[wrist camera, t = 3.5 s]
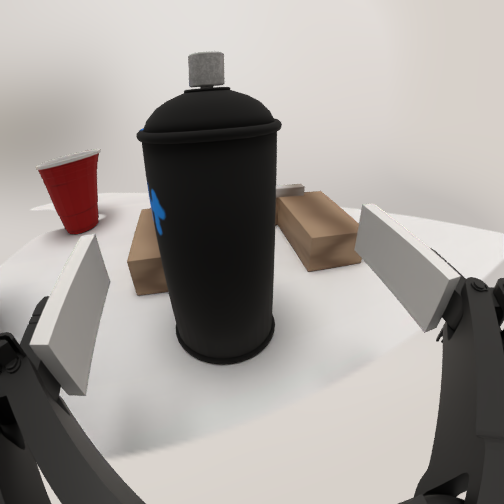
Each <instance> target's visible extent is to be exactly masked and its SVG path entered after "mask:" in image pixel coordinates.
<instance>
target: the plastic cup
mask: <svg viewBox="0 0 504 504" xmlns="http://www.w3.org/2000/svg"><path fill="white" fill-rule="evenodd" d="M100 150H101V149H93V150H87V151H82V152H78V153H73V154H70V155H66V156H62V157H59V158H56V159H53V160H50V161H47V162H44V163H42V164H40V165H37V166H36V169H37V170H38V171H39V173H40V174H41V177H42V179H43V181H44V184H45V185H46V188H47V190H48V193H49V195H50V197H51V200H52V202H53V204H54V207H55V209H56V211H57V213H58V215H59V216H60V219H61V221H62V223H63V225H64V227H65V229H66V230H67V232H68V233H69V234H79V233H83V232H86V231H88V230H90V229H92V228H93V227H95V226H96V225H97V223H98V217H99V216H98V205H97V202H98V195H97V162H98V155H99V153H100Z"/></svg>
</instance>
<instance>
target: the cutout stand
mask: <svg viewBox="0 0 504 504" xmlns="http://www.w3.org/2000/svg"><path fill="white" fill-rule="evenodd" d="M275 225H278V226H279V228H280V229H281V231H282V232H283V234H284V235H285V237H286V238H287V240H288V241H289V243H290V244H291V246H292V247H293V249H294V250H295V252H296V253H297V255H298V257H299V258H300V260H301V261H302V263H303V264H304V266H305V267H306V269H307V270H308V272H309V271H316V270H322V269H328V268H334V267H340V266H345V265H351V264H357V263H361V259H362V258H361V257H360V256H359V254H358V253H357V252H356V251H355V250H354V249H355V244H356V239H357V233H358V227H359V223H357V222H356V221H355V220H354V219H353V218H352V217H351V216H349V215H348V214H347V213H346V212H345V211H344V210H343V209H341V208H340V207H339V206H338V205H337V204H336V203H334V202H333V201H332V200H331V199H330V198H328V197H327V196H326V195H325V194H324V193H322V192H321V191H318V192H304V186H303V185H302V184H292V185H277V186H276V214H275ZM127 263H128V267H129V270H130V273H131V277H132V280H133V283H134V287H135V290H136V293H137V295H146V294H154V293H162V292H168V288H167V283H166V279H165V275H164V270H163V266H162V261H161V256H160V252H159V247H158V242H157V237H156V232H155V226H154V221H153V215H152V209H151V208H150V209H143V210H141V214H140V217H139V220H138V224H137V227H136V231H135V234H134V238H133V241H132V245H131V249H130V252H129V256H128V260H127Z"/></svg>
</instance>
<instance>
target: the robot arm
mask: <svg viewBox="0 0 504 504" xmlns="http://www.w3.org/2000/svg"><path fill="white" fill-rule="evenodd" d="M354 250H355V251H356V252H357V253H358V254H359V256H360V257H361V258H362V259H363V260H364V261H365V262H366V263H367V264H368V266H369V267H370V268H371V269H372V270H373V271H374V272H375V273H376V275H377V276H378V277H379V278H380V279H381V280H382V282H383V283H384V284H385V285H386V286H387V287H388V289H389V290H390V291H391V292H392V293H393V294H394V296H395V297H396V298H397V299H398V300H399V302H400V303H401V304H402V305H403V306H404V308H405V309H406V310H407V311H408V313H409V314H410V315H411V316H412V318H413V319H414V320H415V321H416V323H417V324H418V325H419V326H420V328H421V329H422V330H423V331H424V333H425V332H427V331H430V330H432V329H434V328H436V327H437V325H438V323H439V322H440V320H441V318H443V319H444V320H445V321H446V322H445V324H444V326H443V328H442V330H441V331H440V333H439V335H438V337H437V339H436V341H439V339H440V337H442V336H443V340H442V341H441V342H442V343H443V360H442V380H441V393H440V403H439V411H438V419H437V426H436V432H435V438H434V444H433V449H432V455H431V459H430V463H429V466H428V469H427V471H426V472H425V474H424V475H423V477H422V478H421V480H420V482H419V483H418V486H417V488H416V491H415V495H414V498H411V499H409V500H406V501H404V502H402V503H399V504H504V330H503V331H502V330H501V328H500V326H501V324H502V323H503V321H504V278H500V279H498V281H497V283H496V285H495V287H494V288H489V287H488V286H487V285H486V284H485V283H484V282H483V281H481V280H479V279H477V278H473V277H470V278H467V279H465V278H464V277H463V276H462V275H461V274H460V273H459V272H458V271H457V270H456V269H455V268H454V267H453V266H451V265H450V264H449V263H447V261H446V260H445V259H444V258H443V257H442V258H441V256H440V255H439V254H438V253H437V252H436V251H434V250H433V249H431V248H429V247H428V246H427V245H425V244H424V243H423V242H422V241H421V240H420V239H418V238H417V237H416V236H415V235H413V234H412V233H411V232H410V231H409V230H407V229H406V228H405V227H404V226H402V225H401V224H400V223H399V222H397V221H396V220H395V219H393V218H392V217H391V216H390V215H388V214H387V213H386V212H384V211H383V210H382V209H380V208H379V207H378V206H376V205H375V204H363V205H362V209H361V216H360V222H359V227H358V233H357V239H356V244H355V249H354ZM109 285H110V279H109V276H108V273H107V270H106V267H105V264H104V261H103V258H102V255H101V252H100V248H99V245H98V242H97V238H96V235H95V234H90V235H84V236H81V237H80V239H79V240H78V242H77V244H76V246H75V248H74V249H73V251H72V253H71V255H70V257H69V258H68V260H67V262H66V264H65V266H64V268H63V270H62V272H61V274H60V276H59V278H58V280H57V282H56V284H55V286H54V288H53V290H52V292H51V294H50V296H46V297H44V298H43V299H42V300H41V301H40V302H39V303H38V304H37V306H36V308H35V310H34V312H33V314H32V316H33V317H31V319H30V321H29V325H28V326H27V328H26V331H25V333H24V335H23V338H22V340H21V343H20V345H19V344H18V342H17V341H16V339H15V338H14V336H13V335H12V334H11V333H8V332H6V333H1V334H0V504H51V502H50V500H49V497H48V495H47V492H46V489H45V487H44V484H43V481H42V478H41V475H40V472H39V469H38V466H39V468H40V470H41V471H42V473H43V475H44V477H45V478H46V480H47V482H48V483H49V485H50V486H51V488H52V490H53V491H54V493H55V494H56V496H57V497H58V499H59V500H60V502H61V503H62V504H145V503H144V502H143V501H142V500H141V499H140V498H139V497H138V496H137V495H136V493H134V491H133V490H132V489H131V488H130V487H129V486H128V485H127V484H126V483H125V482H124V481H123V480H122V479H121V477H120V476H119V475H118V474H117V473H116V472H115V471H114V469H113V468H112V467H111V466H110V465H109V464H108V462H107V461H106V460H105V459H104V457H103V456H102V455H101V454H100V452H99V451H98V450H97V449H96V447H95V446H94V445H93V443H92V442H91V441H90V439H89V438H88V436H87V435H86V434H85V432H84V431H83V429H82V428H81V427H80V425H79V424H78V422H77V421H76V419H75V418H74V416H73V415H72V413H71V411H70V410H69V408H68V407H67V405H66V404H65V402H64V400H63V399H62V398H61V397H60V396H59V393H60V388H61V387H62V388H63V389H64V391H65V392H66V393H67V394H68V395H78V396H86V391H87V385H88V379H89V373H90V367H91V361H92V356H93V351H94V346H95V341H96V337H97V332H98V328H99V323H100V319H101V315H102V311H103V307H104V303H105V300H106V296H107V292H108V289H109ZM37 464H38V466H37ZM465 491H467V493H466V498H465V500H463V499H460V498H457V496H458V495H459V494H460V493H463V492H465Z"/></svg>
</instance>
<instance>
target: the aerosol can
mask: <svg viewBox="0 0 504 504" xmlns="http://www.w3.org/2000/svg"><path fill="white" fill-rule="evenodd" d="M188 63H189V86H190V87H201V89H191V90H185V91H184V94H181V95H179V96H177V97H175V98H173V99H171V100H169V101H167V102H165V103H164V104H162V105H161V106H160V107H158V108H157V109H156V110H155V111H154V112H153V114H152V115H151V116H150V117H149V119H148V120H147V121H146V125H145V127H144V128H143V129H141V130H140V131H139V132H138V133H137V139H138V140H139V141H140V142H142V147H143V156H144V163H145V171H146V177H147V185H148V191H149V197H150V203H151V209H152V215H153V221H154V226H155V232H156V237H157V242H158V247H159V252H160V256H161V261H162V266H163V270H164V275H165V279H166V283H167V288H168V292H169V296H170V300H171V304H172V308H173V312H174V316H175V319H176V335H177V338H178V341H179V343H180V344H181V345H182V347H183V348H184V349H185V350H186V351H187V352H188V353H189V354H190V355H192V356H194V357H196V358H198V359H200V360H203V361H206V362H209V363H216V364H231V363H236V362H241V361H243V360H246V359H249V358H251V357H253V356H254V355H256V354H258V353H259V352H260V351H262V350H263V349H264V348H265V347H266V346H267V344H268V343H269V341H270V340H271V338H272V335H273V333H274V327H275V322H274V317H273V315H272V303H273V278H274V249H275V214H276V163H277V162H276V161H277V131H278V130H280V129H281V125H282V124H281V122H280V121H279V120H278V119H274V118H273V116H272V115H271V113H270V111H269V110H268V109H267V108H266V107H265V106H264V105H263V104H262V103H261V102H260V101H258V100H256V99H254V98H252V97H250V96H248V95H245V94H242V93H238V92H235V91H232V90H230V88H229V87H216V88H213V86H216V85H223V84H224V54H223V53H221V52H200V53H194V54H191V55H189V56H188Z"/></svg>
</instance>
